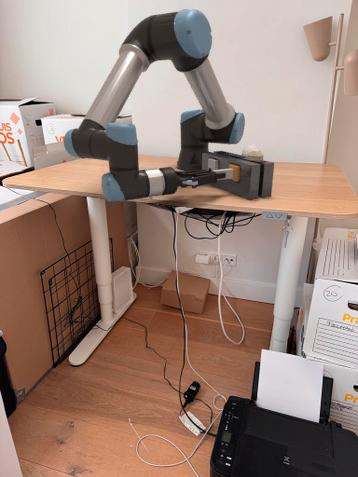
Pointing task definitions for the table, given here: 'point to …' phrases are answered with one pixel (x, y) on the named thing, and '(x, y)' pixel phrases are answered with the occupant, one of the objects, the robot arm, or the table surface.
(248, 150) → the light bulb
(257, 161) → the dark grey button box
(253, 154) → the candle
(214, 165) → the white button
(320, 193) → the table surface
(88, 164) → the table surface
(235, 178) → the orange button
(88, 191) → the table surface
